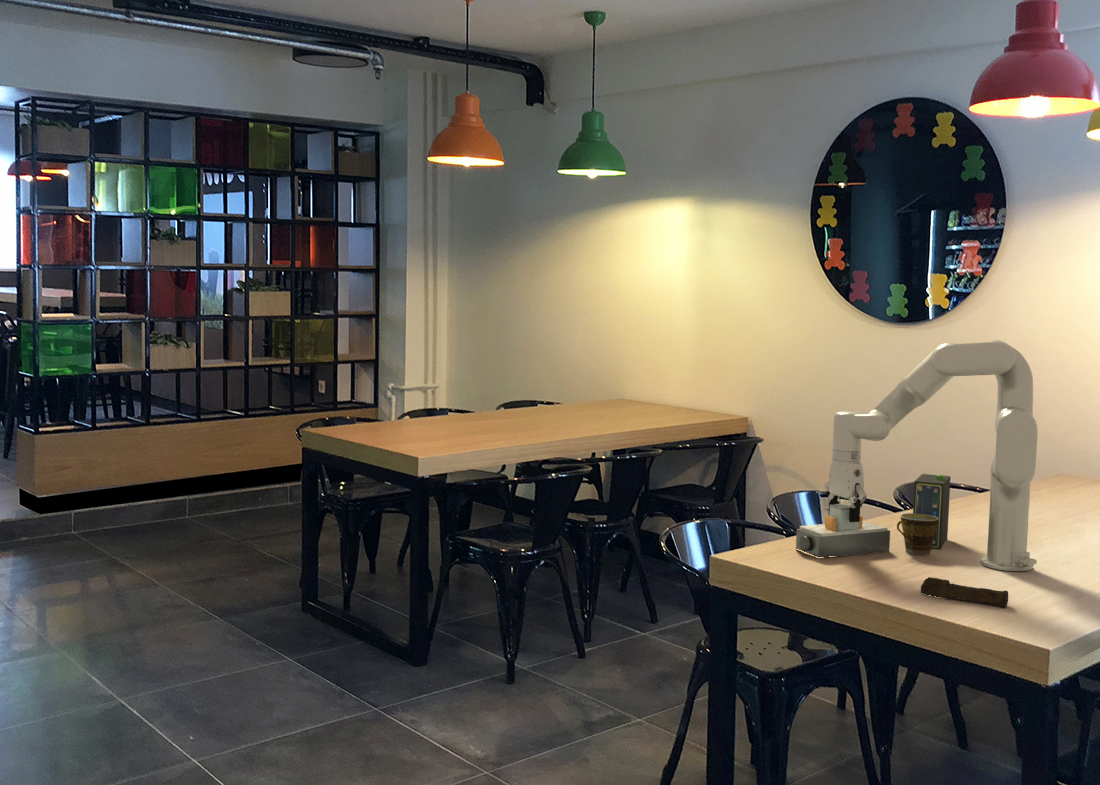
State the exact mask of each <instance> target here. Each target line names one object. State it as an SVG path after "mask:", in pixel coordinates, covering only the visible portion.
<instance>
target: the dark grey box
mask: <svg viewBox="0 0 1100 785" xmlns="http://www.w3.org/2000/svg"><path fill="white" fill-rule="evenodd" d="M913 485H914V486H913V504H912V505H913V506H912V513H916V514H927V515H932V516H935V517H938V518H939V520H938V525H937V529H936V532H935V535H934V539H933V543H932V548H931V550H939V551H940V550H942V549H943V547H944V545H945V544H946V542H947V541H948V532H949V513H950V512H949V511H950V495H951V493H950V492H951V476H950V475H942V474H928V473H921V474H920V475H919V476H918V478H916V479H915V480H914V484H913Z"/></svg>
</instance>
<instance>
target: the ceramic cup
mask: <svg viewBox="0 0 1100 785" xmlns="http://www.w3.org/2000/svg"><path fill="white" fill-rule="evenodd" d="M938 520H939V518H938V517H935V516H932V515H927V514H916V513H913V512H912V513H910V512H909V513H902V514H900V520H899V521H898V522H897V524H896V529H897V531H898V532H899V533H900V534H901V535H902V536H903V539H904V540H903V541H904V547H905V553H907V554H911V555H917V556H918V555H919V556H927V554H928V555H930V554H931V551H932V549H931V548H932V543H933V539H934V535H935V532H936V529H937V525H938ZM900 525H901V528H902V530H901V529H900Z"/></svg>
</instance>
